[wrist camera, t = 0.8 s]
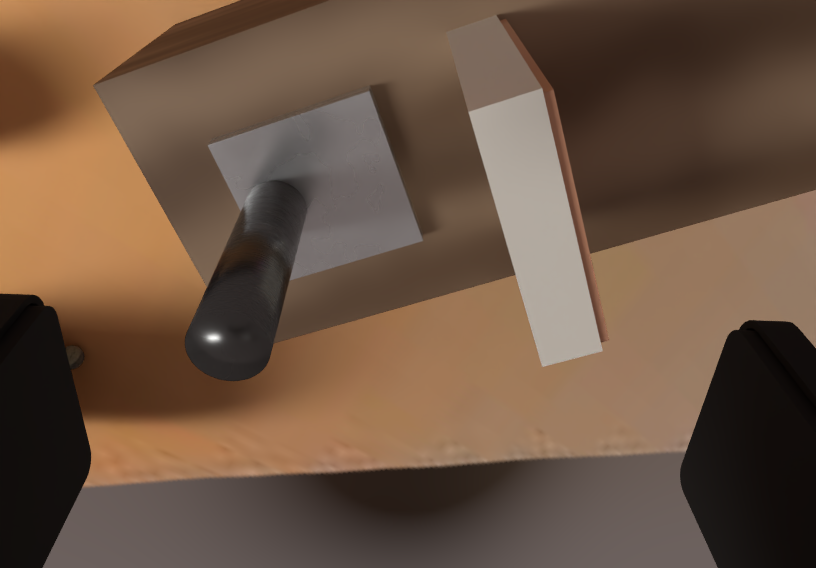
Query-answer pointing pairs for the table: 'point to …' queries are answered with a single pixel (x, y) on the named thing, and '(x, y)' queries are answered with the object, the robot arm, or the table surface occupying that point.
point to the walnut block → (453, 132)
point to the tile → (531, 187)
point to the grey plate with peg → (296, 221)
